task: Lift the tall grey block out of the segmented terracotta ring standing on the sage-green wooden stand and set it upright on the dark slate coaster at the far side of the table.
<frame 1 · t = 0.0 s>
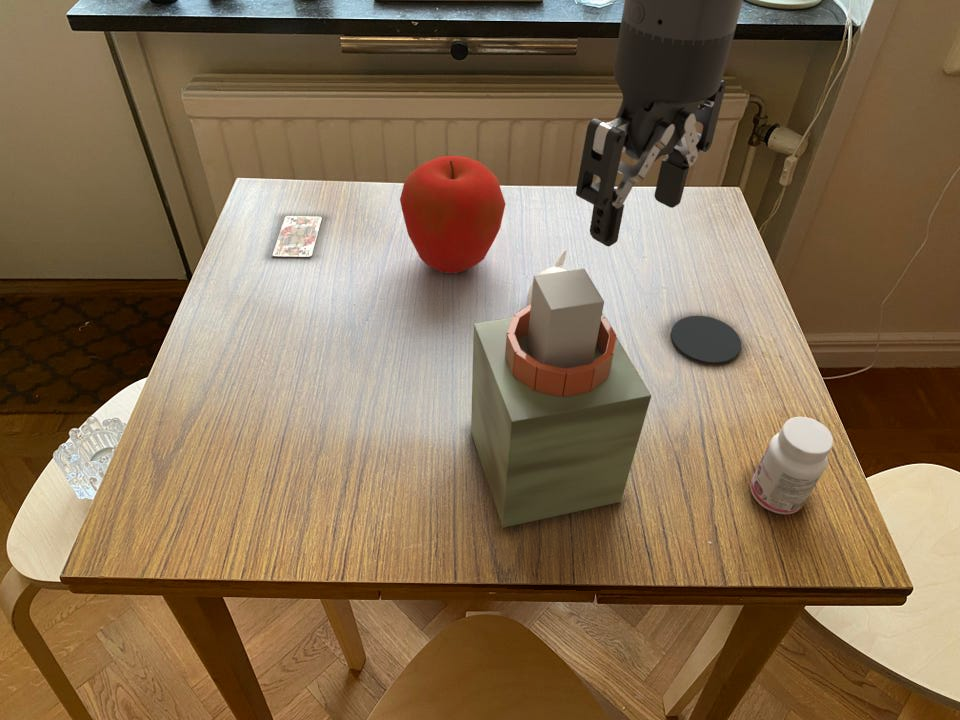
hand: (635, 221, 58), 20 cm above the table, tool pointing down, fingers open, 8 cm apart
coaster: (705, 340, 78), on the table
pill bottle: (775, 494, 64), on the table
stand: (542, 465, 66), on the table
figurine: (553, 316, 81), on the table
playing card: (298, 237, 91), on the table
apple: (453, 265, 87), on the table
segmented terracotta ring: (560, 346, 55), on the stand, point 15 cm above the table
block: (563, 324, 53), in the segmented terracotta ring, point 18 cm above the table, touching stand
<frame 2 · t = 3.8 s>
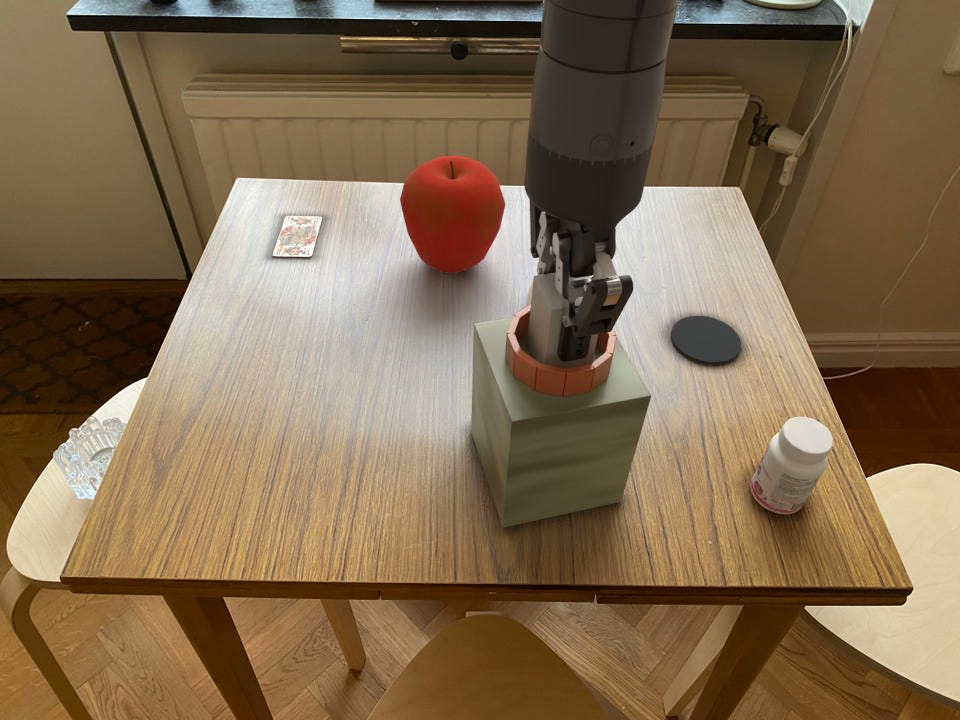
hand: (561, 335, 54), 16 cm above the table, tool pointing down, fingers closed on block, 4 cm apart
block: (563, 324, 53), in the segmented terracotta ring, point 18 cm above the table, touching gripper, stand
everything else where it was.
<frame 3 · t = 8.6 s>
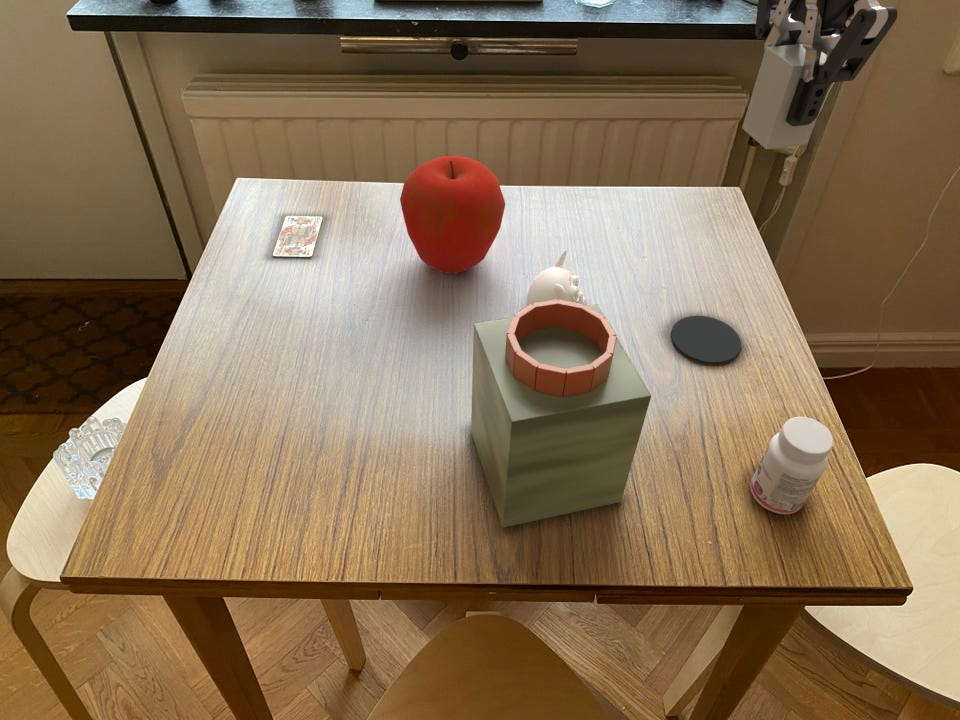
hand: (782, 110, 60), 27 cm above the table, tool pointing down, fingers closed on block, 4 cm apart
block: (787, 97, 59), point 28 cm above the table, touching gripper
everything else where it was.
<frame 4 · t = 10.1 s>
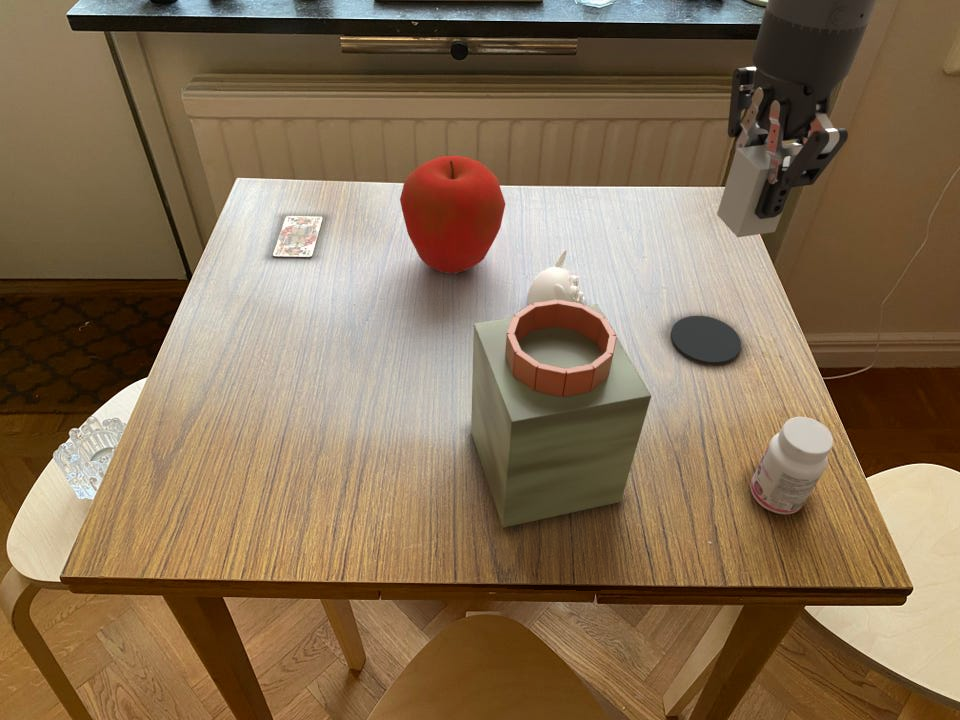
hand: (752, 201, 66), 18 cm above the table, tool pointing down, fingers closed on block, 4 cm apart
block: (756, 191, 65), point 19 cm above the table, touching gripper
everything else where it was.
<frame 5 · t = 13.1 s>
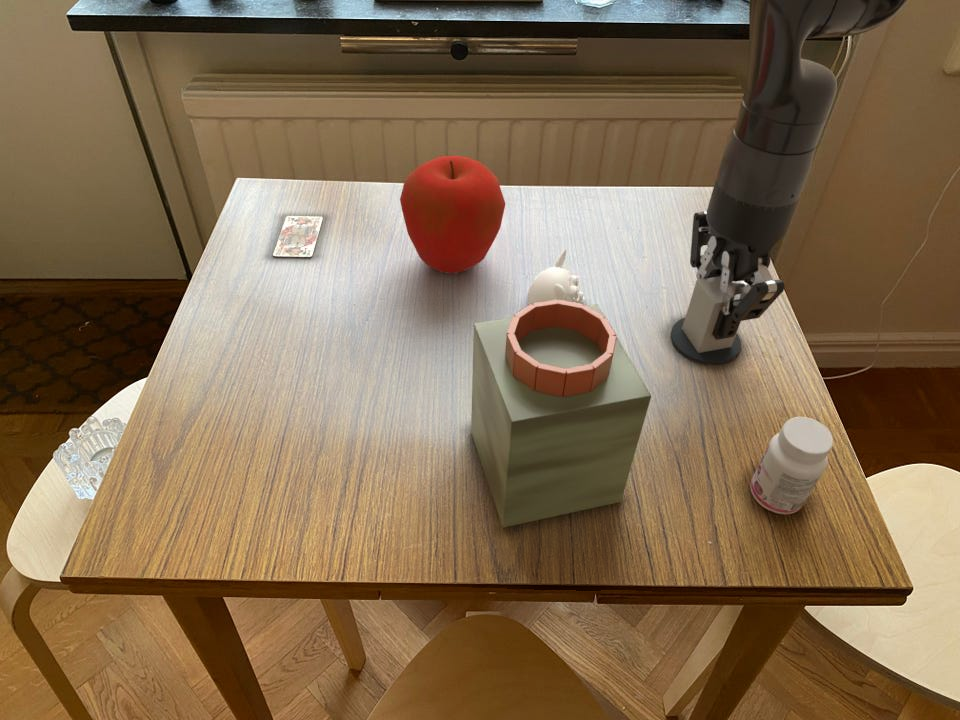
hand: (711, 321, 76), 3 cm above the table, tool pointing down, fingers closed on block, 4 cm apart
block: (714, 314, 76), on the coaster, touching gripper
everything else where it was.
when the fingers open (3 cm above the table, at t = 13.2 s): block stays where it is, resting on coaster.
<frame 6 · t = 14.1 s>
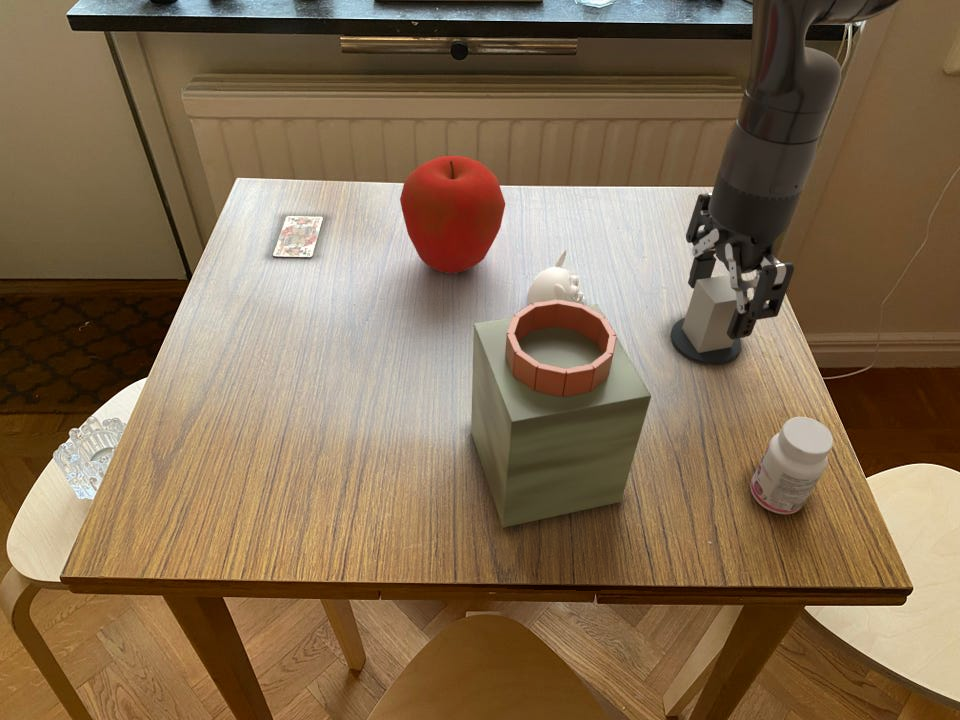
hand: (716, 309, 75), 5 cm above the table, tool pointing down, fingers open, 8 cm apart
block: (714, 314, 76), on the coaster
everything else where it was.
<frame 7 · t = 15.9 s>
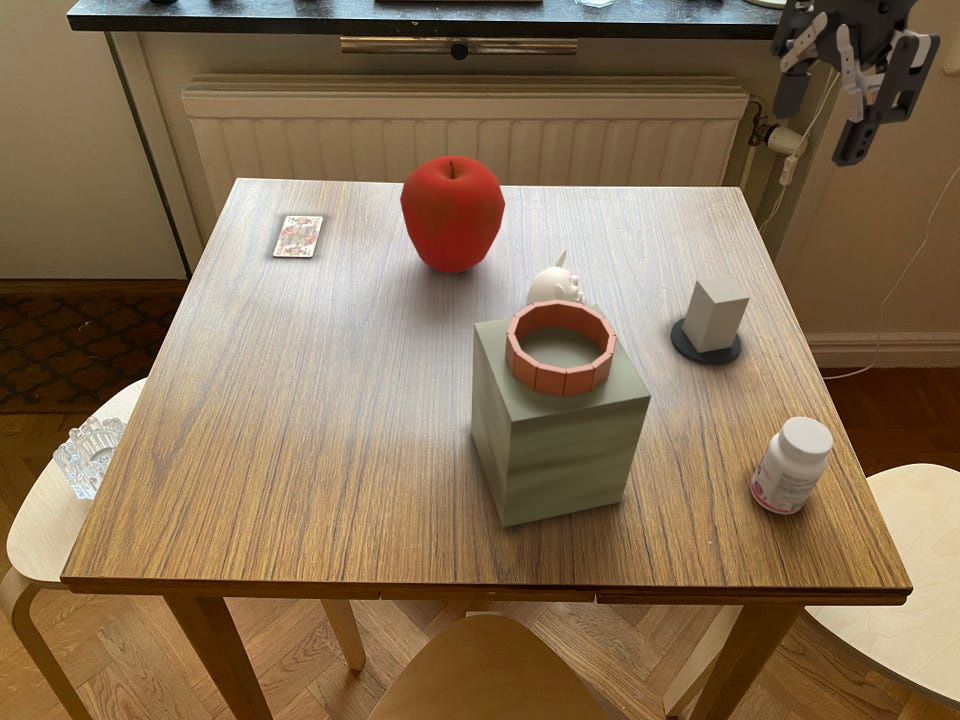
hand: (812, 139, 58), 26 cm above the table, tool pointing down, fingers open, 8 cm apart
nothing on the table moved.
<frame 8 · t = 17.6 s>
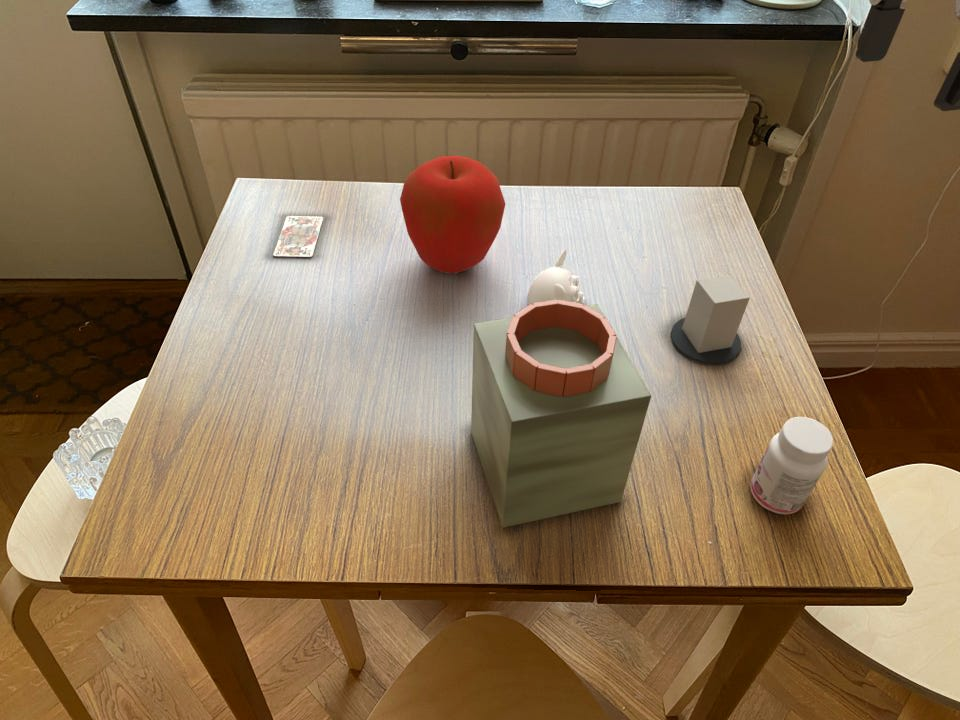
hand: (905, 82, 51), 32 cm above the table, tool pointing down, fingers open, 8 cm apart
nothing on the table moved.
at the end: block 0.0 cm off-centre on the coaster, point 3.9 cm above the coaster's base; block tilted 0°; block resting on coaster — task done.
